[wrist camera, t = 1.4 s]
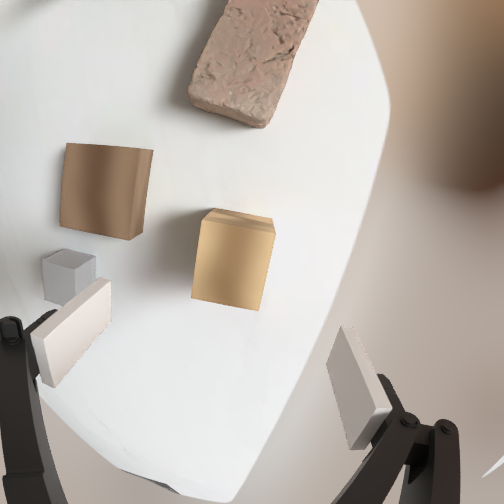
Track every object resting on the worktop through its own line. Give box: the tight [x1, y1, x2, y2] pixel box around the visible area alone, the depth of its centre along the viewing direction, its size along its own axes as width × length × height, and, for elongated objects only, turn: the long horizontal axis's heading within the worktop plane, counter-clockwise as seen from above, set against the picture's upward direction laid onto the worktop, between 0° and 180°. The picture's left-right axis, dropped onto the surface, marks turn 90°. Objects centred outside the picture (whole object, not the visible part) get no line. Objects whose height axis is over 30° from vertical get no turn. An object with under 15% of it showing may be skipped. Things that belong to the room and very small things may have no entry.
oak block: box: [191, 208, 276, 311], centre depth 28 cm, size 6×7×7 cm
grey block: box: [42, 249, 96, 306], centre depth 31 cm, size 5×5×5 cm
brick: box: [187, 0, 319, 128], centre depth 24 cm, size 17×8×5 cm, turn 161°
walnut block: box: [60, 143, 153, 240], centre depth 28 cm, size 9×9×4 cm
